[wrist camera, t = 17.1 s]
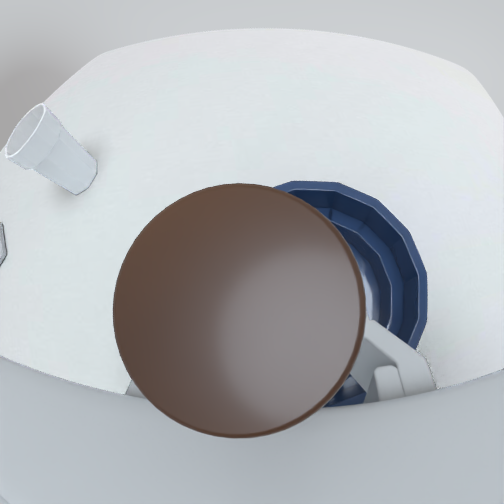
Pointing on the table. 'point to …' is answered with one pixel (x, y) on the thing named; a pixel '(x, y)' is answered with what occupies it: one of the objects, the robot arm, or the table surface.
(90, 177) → the cup
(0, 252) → the smartphone
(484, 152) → the table surface
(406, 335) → the bowl
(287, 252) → the stick
